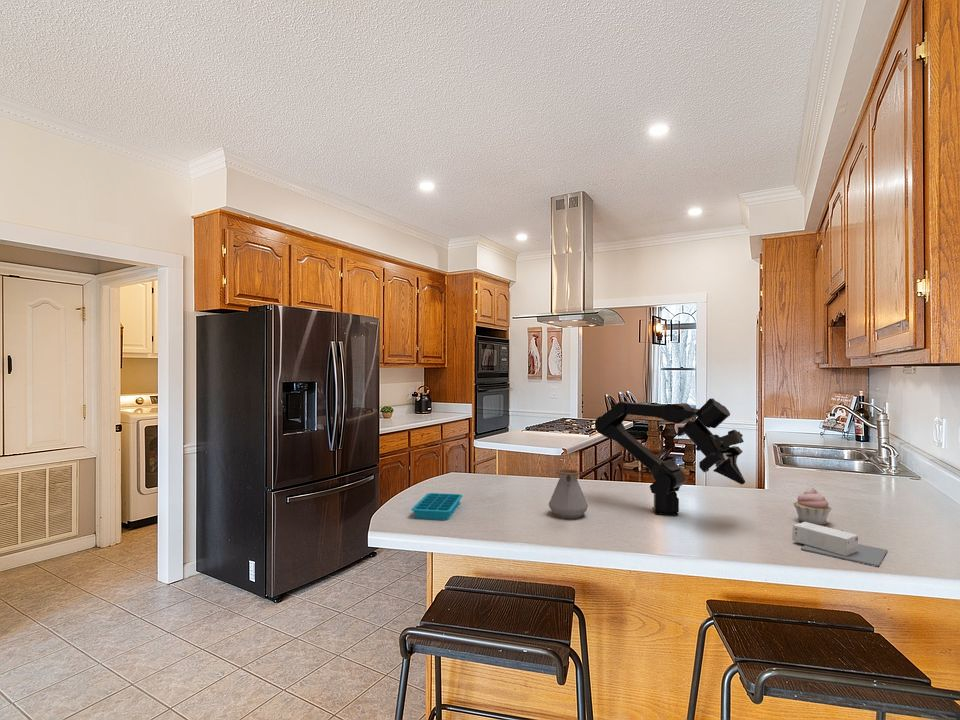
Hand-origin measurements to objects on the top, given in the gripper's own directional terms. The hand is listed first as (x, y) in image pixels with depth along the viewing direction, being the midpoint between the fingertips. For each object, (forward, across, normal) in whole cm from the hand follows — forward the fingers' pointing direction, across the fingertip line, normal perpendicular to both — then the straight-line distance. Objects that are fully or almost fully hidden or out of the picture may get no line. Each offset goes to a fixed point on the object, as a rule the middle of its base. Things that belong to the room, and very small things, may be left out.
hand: (743, 483), depth 141 cm
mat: (+25, 0, -7) cm, 26 cm away
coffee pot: (-18, -27, +37) cm, 49 cm away
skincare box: (+16, 0, -2) cm, 16 cm away
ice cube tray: (-41, -47, +61) cm, 87 cm away
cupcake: (+17, +21, 0) cm, 27 cm away
